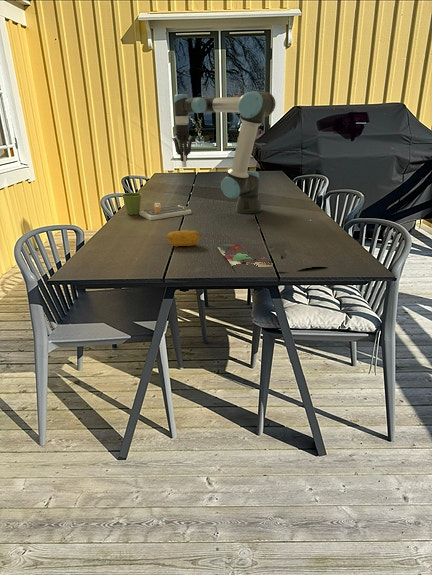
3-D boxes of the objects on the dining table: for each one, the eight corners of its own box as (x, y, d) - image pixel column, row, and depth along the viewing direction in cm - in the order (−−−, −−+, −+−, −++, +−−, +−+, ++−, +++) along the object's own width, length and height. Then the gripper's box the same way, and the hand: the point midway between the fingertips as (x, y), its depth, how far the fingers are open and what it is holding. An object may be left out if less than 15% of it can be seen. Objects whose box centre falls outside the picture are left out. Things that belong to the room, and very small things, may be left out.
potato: (168, 243, 182) (167, 228, 179) (200, 243, 181) (199, 228, 178) (166, 248, 175) (165, 233, 172) (199, 248, 175) (198, 233, 172)
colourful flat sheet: (239, 279, 144) (239, 275, 143) (216, 249, 175) (216, 245, 174) (327, 269, 151) (327, 264, 150) (290, 242, 182) (290, 238, 181)
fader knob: (160, 213, 225) (159, 206, 224) (156, 214, 224) (156, 206, 223) (158, 212, 228) (157, 205, 226) (154, 213, 227) (153, 205, 225)
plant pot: (139, 216, 229) (137, 196, 224) (120, 215, 231) (117, 196, 226) (146, 211, 239) (145, 192, 235) (128, 211, 242) (126, 192, 237)
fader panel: (191, 213, 233) (190, 203, 230) (150, 220, 220) (149, 209, 218) (179, 208, 245) (178, 198, 242) (139, 214, 233) (138, 204, 230)
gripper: (189, 123, 234) (191, 165, 243) (169, 124, 227) (171, 167, 237) (195, 123, 228) (196, 166, 237) (174, 124, 222) (177, 168, 231)
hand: (184, 166), depth 237 cm, fingers closed
